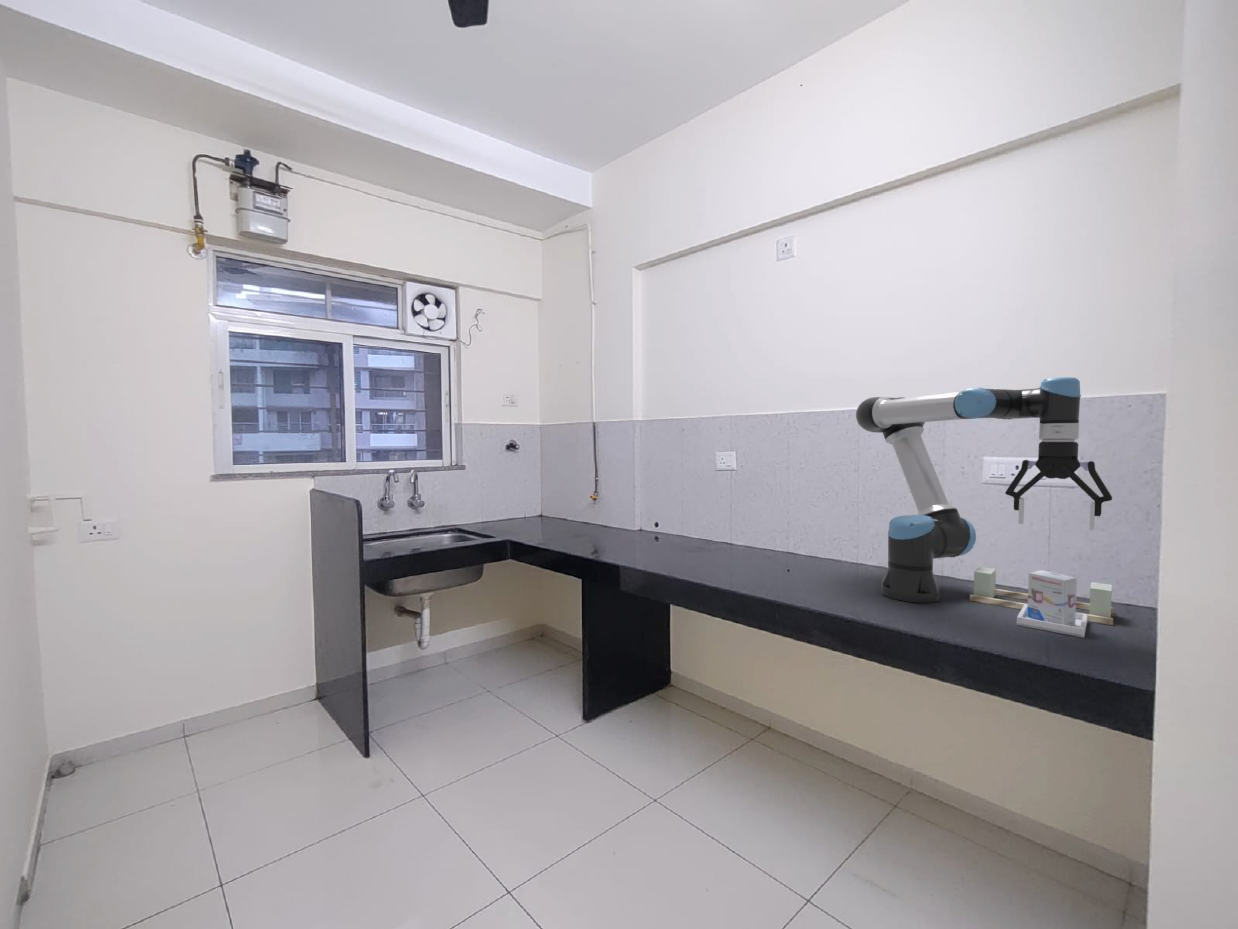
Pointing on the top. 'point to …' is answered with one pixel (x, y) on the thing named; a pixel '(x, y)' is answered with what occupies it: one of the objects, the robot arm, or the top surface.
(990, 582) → the block
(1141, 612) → the top surface
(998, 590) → the rail rack
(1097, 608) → the block
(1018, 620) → the tray
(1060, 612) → the ink box
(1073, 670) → the top surface
